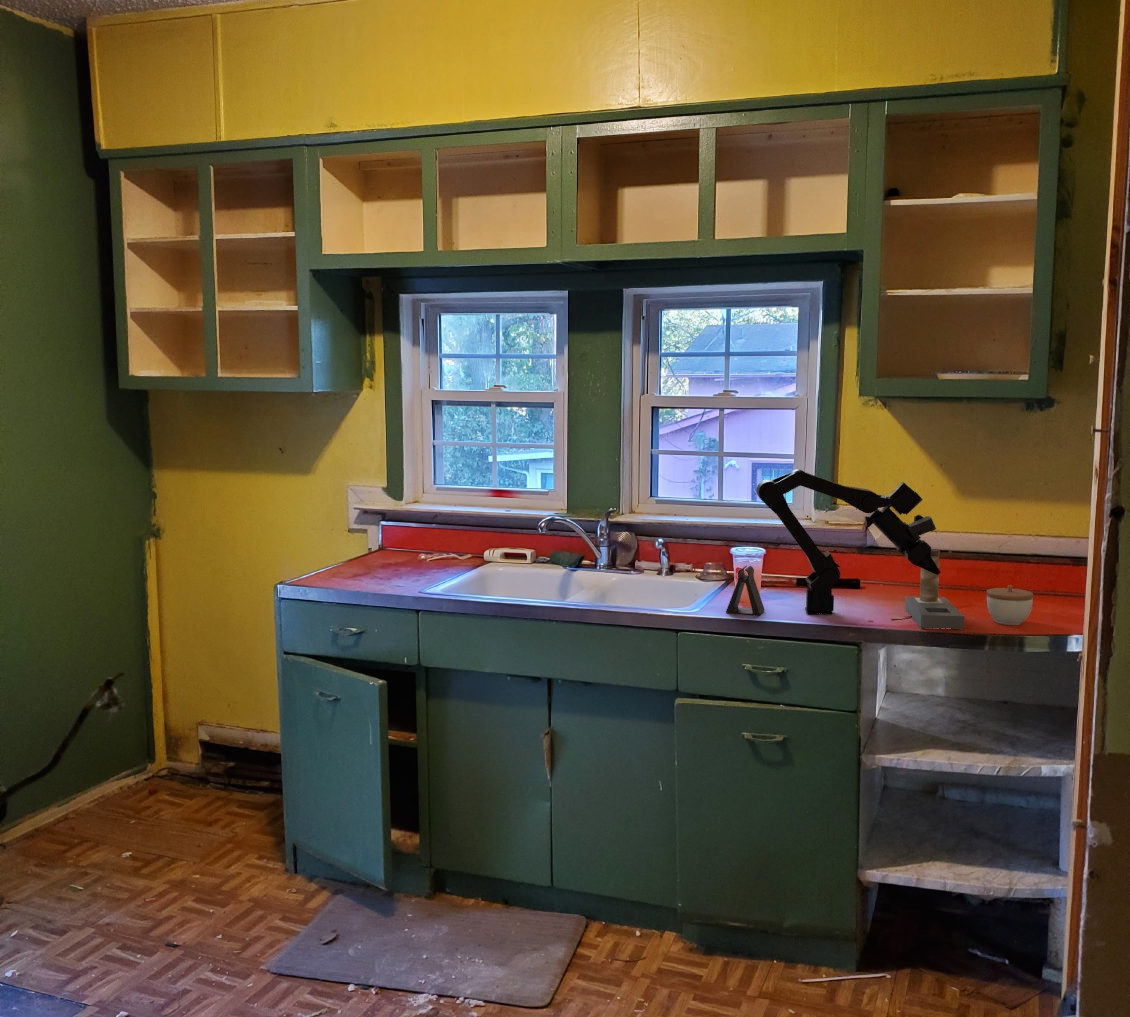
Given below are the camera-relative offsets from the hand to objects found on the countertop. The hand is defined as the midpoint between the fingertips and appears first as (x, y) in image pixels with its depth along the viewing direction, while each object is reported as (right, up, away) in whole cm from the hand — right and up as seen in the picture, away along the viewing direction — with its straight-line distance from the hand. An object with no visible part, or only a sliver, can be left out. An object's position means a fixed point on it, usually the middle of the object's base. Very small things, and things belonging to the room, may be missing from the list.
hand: (935, 570), depth 271 cm
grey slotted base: (-2, -12, -4) cm, 13 cm away
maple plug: (-1, -8, +1) cm, 8 cm away
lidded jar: (+15, -13, -8) cm, 22 cm away
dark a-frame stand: (-48, -11, +5) cm, 50 cm away
